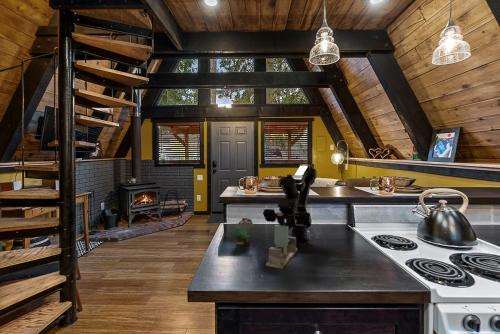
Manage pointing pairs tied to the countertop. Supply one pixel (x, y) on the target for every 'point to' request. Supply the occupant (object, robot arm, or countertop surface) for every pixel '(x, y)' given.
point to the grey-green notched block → (281, 237)
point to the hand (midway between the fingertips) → (282, 235)
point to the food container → (243, 232)
